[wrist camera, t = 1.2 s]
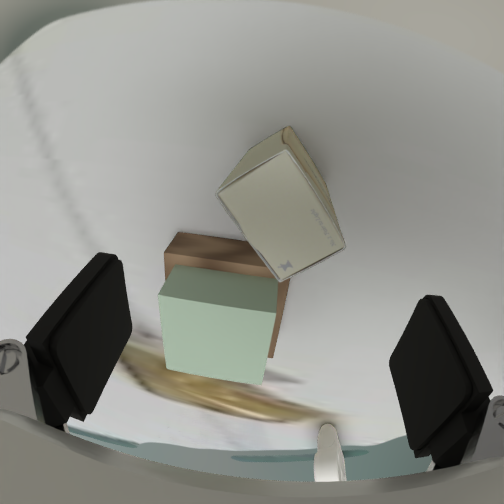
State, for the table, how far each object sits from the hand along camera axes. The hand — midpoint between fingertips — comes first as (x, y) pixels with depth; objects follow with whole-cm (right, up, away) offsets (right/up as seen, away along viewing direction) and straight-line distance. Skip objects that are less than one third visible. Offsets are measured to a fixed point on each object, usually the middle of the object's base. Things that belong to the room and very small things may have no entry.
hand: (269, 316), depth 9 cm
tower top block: (-3, -4, +20) cm, 20 cm away
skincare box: (+2, +9, +17) cm, 19 cm away
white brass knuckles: (+13, -31, +38) cm, 50 cm away
